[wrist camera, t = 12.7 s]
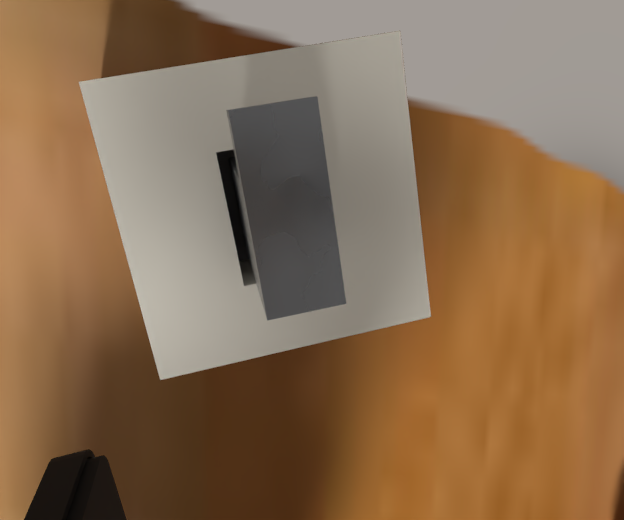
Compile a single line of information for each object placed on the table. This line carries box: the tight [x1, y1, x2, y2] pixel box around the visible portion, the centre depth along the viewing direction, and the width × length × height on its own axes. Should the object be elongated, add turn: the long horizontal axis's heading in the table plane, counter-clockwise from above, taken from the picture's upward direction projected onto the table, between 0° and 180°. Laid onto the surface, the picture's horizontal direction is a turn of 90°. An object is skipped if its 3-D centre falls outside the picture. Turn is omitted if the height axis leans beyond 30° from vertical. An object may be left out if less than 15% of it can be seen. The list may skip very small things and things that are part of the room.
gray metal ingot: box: [226, 96, 346, 321], centre depth 25 cm, size 8×3×11 cm, turn 9°
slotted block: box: [79, 31, 431, 380], centre depth 28 cm, size 14×14×5 cm
